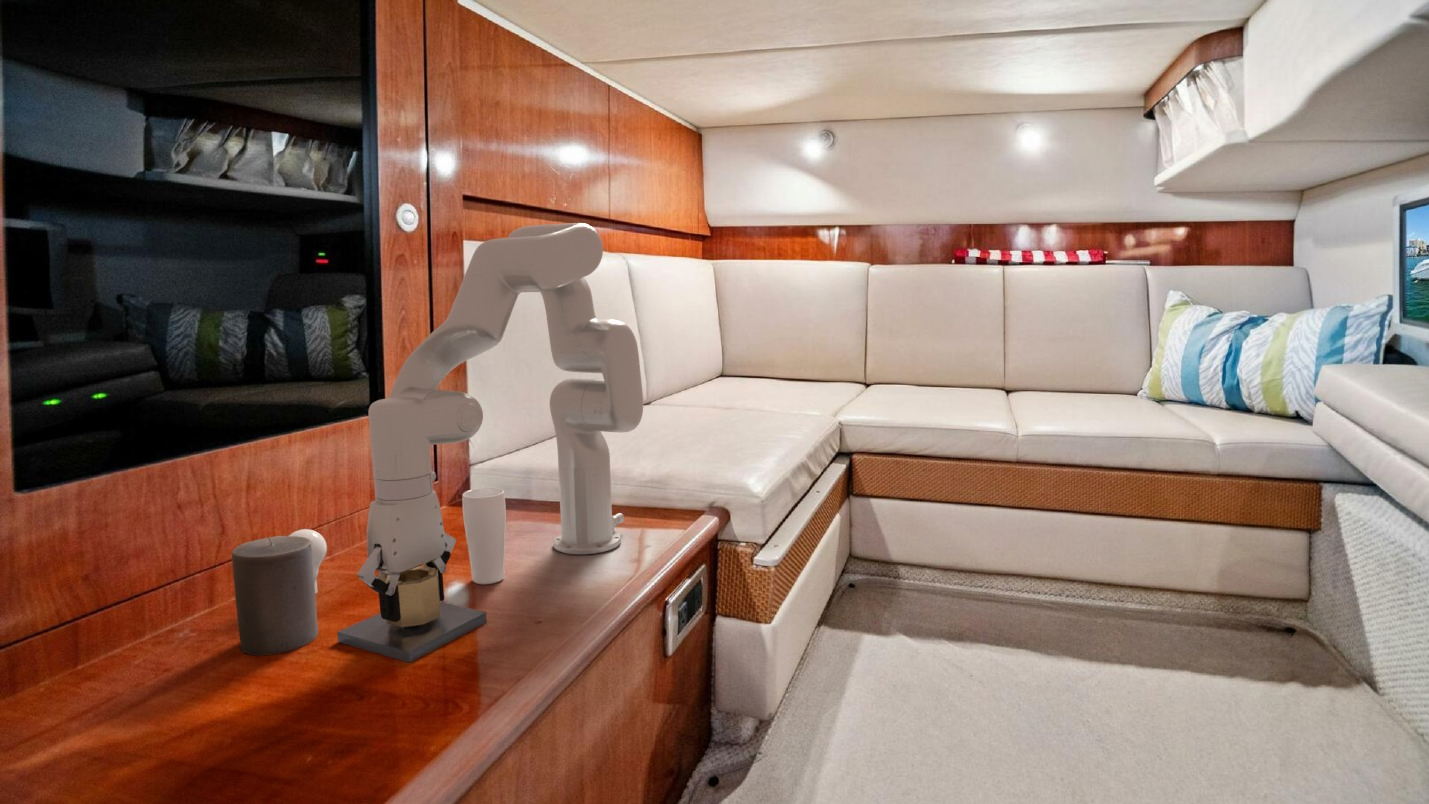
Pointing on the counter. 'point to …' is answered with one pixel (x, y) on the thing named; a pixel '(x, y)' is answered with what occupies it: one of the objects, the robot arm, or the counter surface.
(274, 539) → the pillar candle
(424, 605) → the hub ring
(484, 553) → the drinking glass
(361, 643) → the shaft block
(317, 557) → the lightbulb
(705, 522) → the counter surface
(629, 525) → the counter surface
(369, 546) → the robot arm
